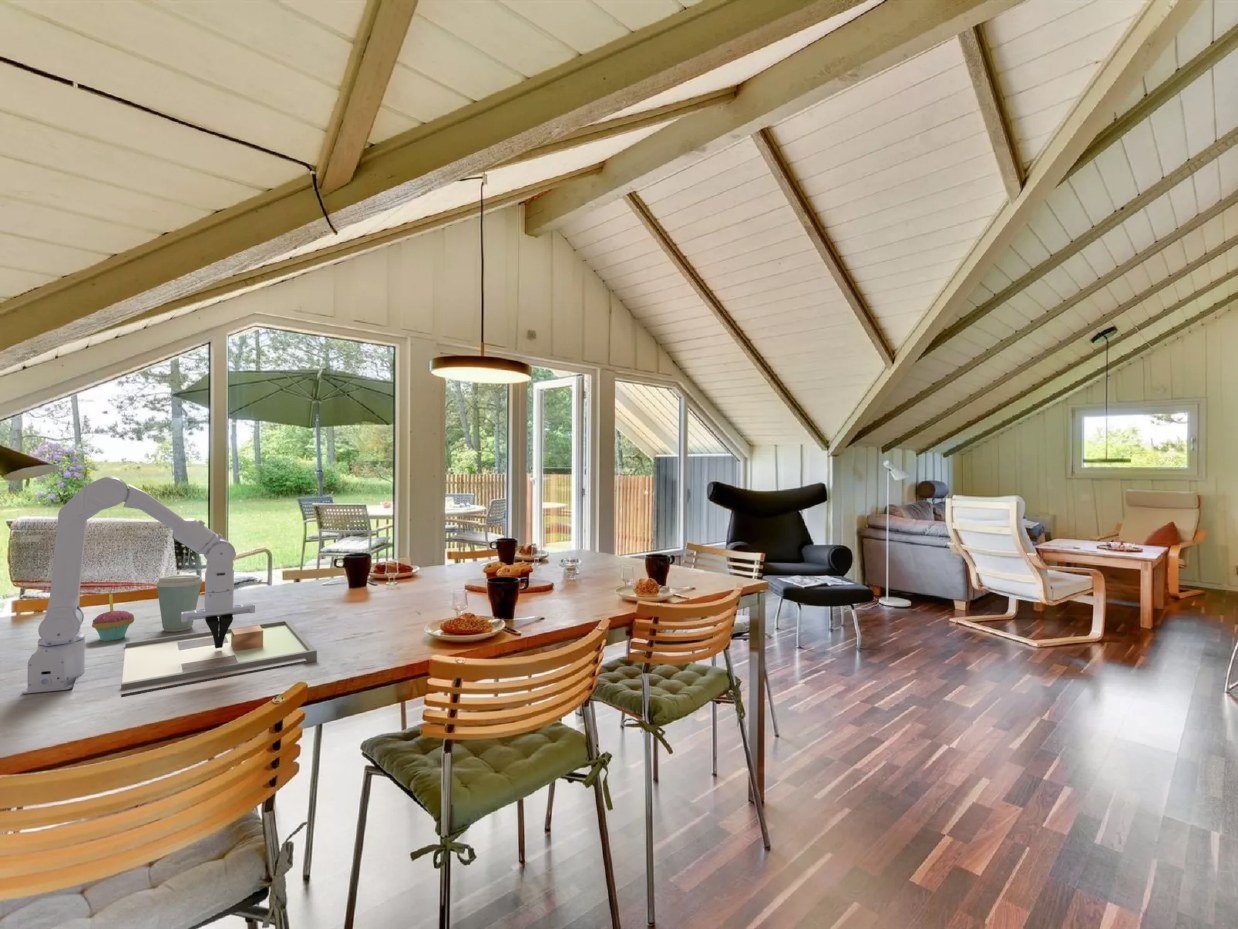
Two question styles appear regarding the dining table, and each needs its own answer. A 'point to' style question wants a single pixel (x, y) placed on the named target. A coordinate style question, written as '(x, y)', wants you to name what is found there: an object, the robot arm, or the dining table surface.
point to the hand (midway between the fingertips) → (218, 647)
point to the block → (246, 638)
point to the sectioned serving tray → (209, 656)
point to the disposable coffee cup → (177, 599)
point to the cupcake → (112, 623)
